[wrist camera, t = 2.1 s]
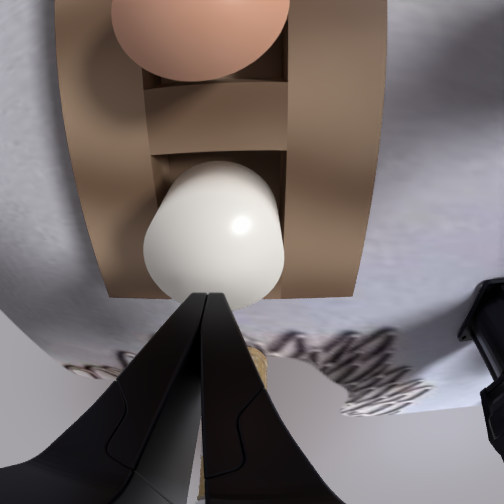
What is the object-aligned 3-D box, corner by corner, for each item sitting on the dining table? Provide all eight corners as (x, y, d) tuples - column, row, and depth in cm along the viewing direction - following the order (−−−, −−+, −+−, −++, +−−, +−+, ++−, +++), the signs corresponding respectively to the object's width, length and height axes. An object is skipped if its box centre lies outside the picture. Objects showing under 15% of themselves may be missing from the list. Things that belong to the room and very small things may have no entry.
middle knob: (279, 73, 10) (290, 79, 7) (149, 81, 10) (115, 91, 7) (278, -43, 7) (288, -74, 5) (145, -32, 7) (112, -55, 5)
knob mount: (335, 250, 18) (352, 296, 15) (131, 252, 19) (109, 297, 15) (341, -144, 5) (361, -177, 2) (108, -129, 5) (79, -156, 2)
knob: (276, 261, 14) (281, 311, 11) (172, 262, 14) (157, 310, 11) (278, 159, 11) (287, 193, 9) (157, 163, 11) (131, 198, 9)
